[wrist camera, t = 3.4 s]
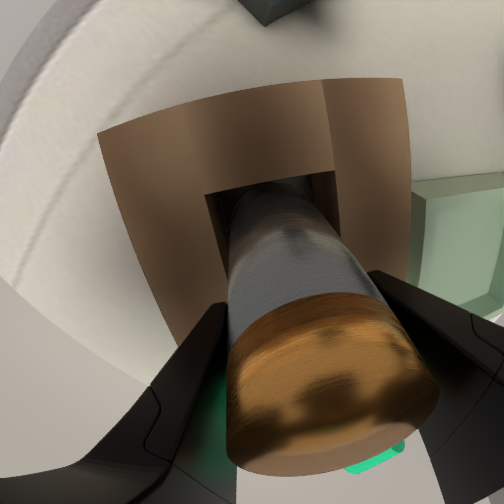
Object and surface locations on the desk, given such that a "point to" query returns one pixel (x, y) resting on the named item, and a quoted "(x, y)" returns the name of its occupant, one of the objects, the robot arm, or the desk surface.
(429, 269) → the tray
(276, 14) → the watch
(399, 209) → the hole block
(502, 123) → the desk surface
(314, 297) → the steel pin
